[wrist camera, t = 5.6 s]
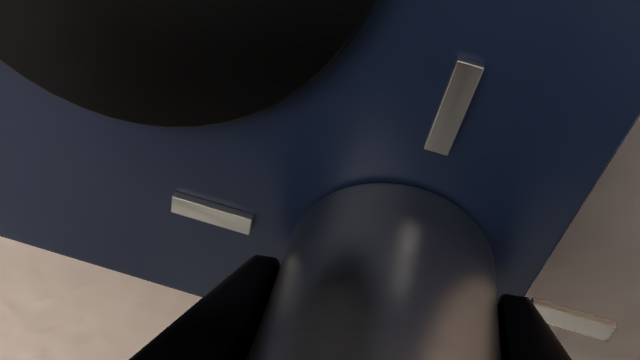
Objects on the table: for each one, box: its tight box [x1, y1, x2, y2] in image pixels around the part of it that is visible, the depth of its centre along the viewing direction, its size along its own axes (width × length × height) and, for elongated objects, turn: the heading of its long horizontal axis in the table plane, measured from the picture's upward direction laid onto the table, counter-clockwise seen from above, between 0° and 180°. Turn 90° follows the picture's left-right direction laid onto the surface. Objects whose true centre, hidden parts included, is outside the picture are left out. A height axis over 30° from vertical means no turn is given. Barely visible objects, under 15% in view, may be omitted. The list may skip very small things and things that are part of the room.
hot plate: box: [0, 0, 640, 341], centre depth 9 cm, size 12×12×3 cm
